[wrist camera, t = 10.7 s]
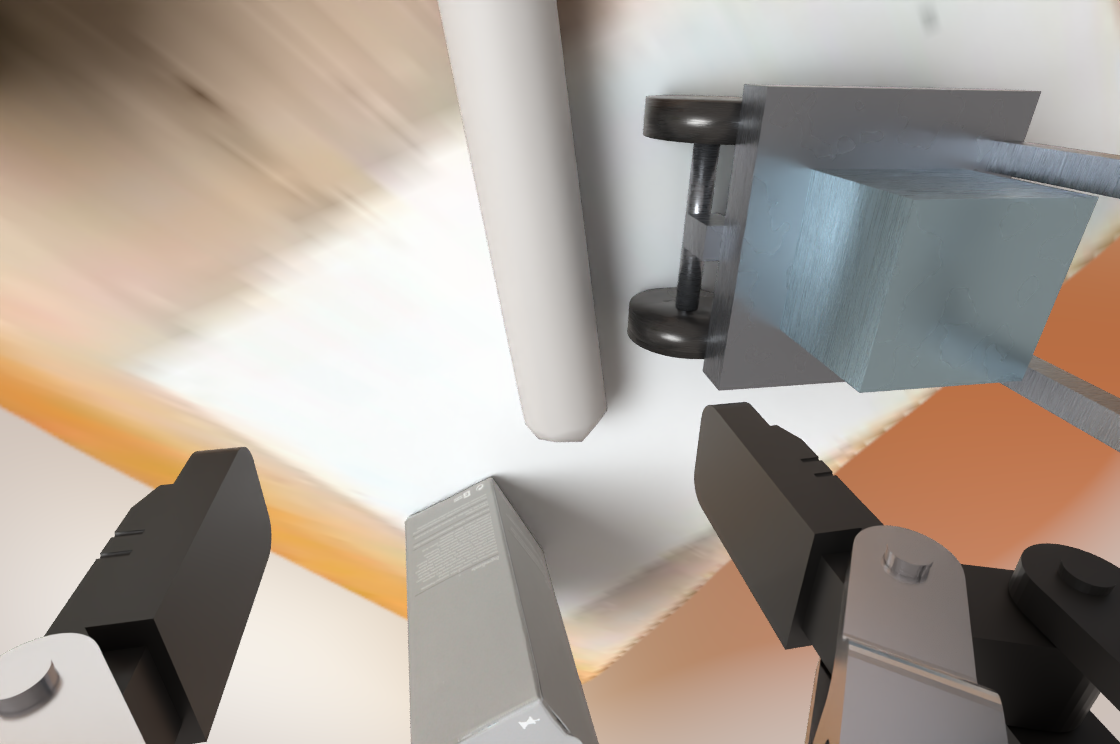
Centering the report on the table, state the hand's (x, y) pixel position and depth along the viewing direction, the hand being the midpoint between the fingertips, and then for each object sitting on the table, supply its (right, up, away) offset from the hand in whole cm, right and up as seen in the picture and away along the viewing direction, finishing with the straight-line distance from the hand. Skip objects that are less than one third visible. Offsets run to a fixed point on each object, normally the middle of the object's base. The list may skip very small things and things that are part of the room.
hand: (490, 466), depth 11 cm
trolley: (+13, +11, +23) cm, 28 cm away
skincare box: (-4, -9, +30) cm, 31 cm away
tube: (0, +10, +21) cm, 23 cm away
